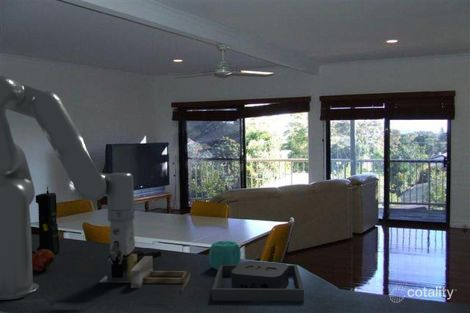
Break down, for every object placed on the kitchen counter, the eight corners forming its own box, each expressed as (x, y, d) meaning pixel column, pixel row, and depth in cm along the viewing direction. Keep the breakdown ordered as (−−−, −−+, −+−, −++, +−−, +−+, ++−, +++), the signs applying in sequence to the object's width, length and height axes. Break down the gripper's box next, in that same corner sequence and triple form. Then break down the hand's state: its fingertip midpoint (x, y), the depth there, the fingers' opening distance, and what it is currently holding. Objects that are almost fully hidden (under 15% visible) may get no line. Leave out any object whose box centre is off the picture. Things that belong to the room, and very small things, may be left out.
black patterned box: (138, 245, 172) (103, 253, 160) (175, 246, 159) (139, 255, 148) (139, 259, 172) (104, 268, 160) (176, 262, 159) (141, 272, 148)
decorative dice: (219, 263, 161) (219, 239, 161) (241, 265, 158) (240, 241, 158) (208, 269, 154) (208, 244, 154) (230, 271, 151) (230, 247, 150)
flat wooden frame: (89, 292, 132) (88, 270, 132) (107, 275, 148) (107, 255, 148) (181, 292, 131) (181, 270, 130) (190, 275, 147) (190, 256, 146)
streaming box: (290, 281, 141) (290, 263, 141) (278, 296, 128) (278, 277, 127) (244, 276, 146) (244, 260, 146) (228, 291, 132) (228, 273, 132)
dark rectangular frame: (212, 300, 124) (211, 289, 124) (219, 274, 148) (219, 264, 148) (303, 301, 123) (303, 289, 123) (296, 274, 147) (296, 264, 147)
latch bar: (107, 280, 138) (106, 256, 138) (111, 277, 142) (110, 253, 141) (134, 280, 138) (133, 257, 137) (137, 277, 141) (136, 253, 141)
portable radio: (52, 257, 172) (50, 188, 171) (35, 257, 172) (33, 188, 171) (60, 252, 180) (58, 186, 178) (44, 252, 180) (42, 186, 179)
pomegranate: (58, 274, 157) (38, 254, 160) (66, 259, 155) (46, 239, 157) (40, 283, 151) (20, 262, 154) (48, 267, 148) (28, 246, 151)
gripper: (125, 220, 130) (126, 281, 131) (141, 210, 147) (142, 264, 148) (98, 220, 130) (99, 281, 131) (117, 210, 148) (118, 264, 148)
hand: (122, 272), depth 139 cm, fingers open, 9 cm apart
